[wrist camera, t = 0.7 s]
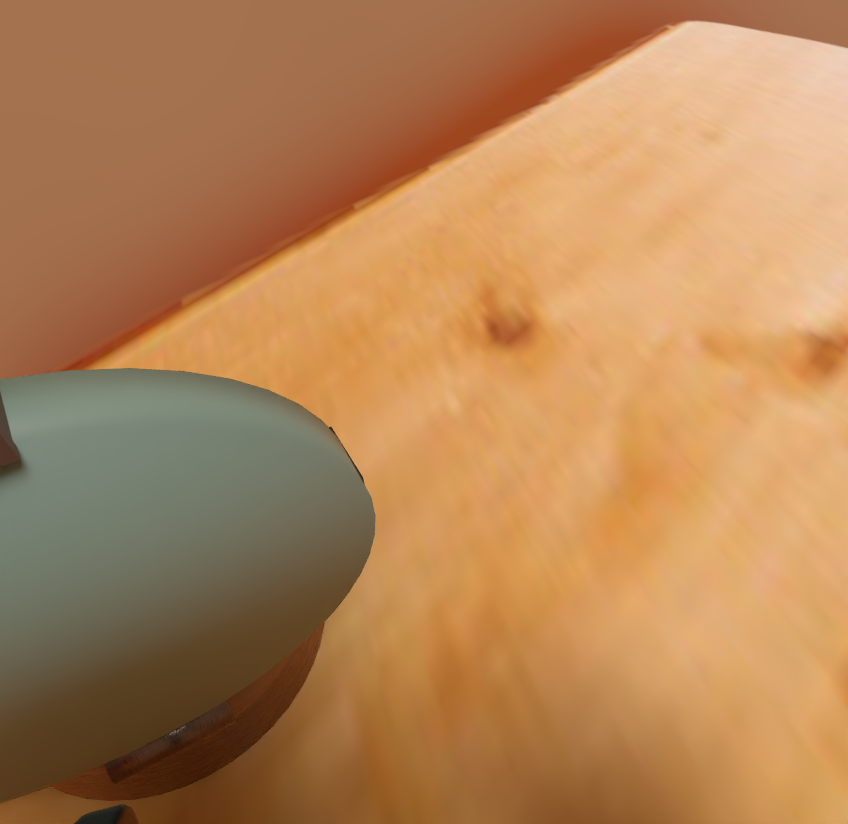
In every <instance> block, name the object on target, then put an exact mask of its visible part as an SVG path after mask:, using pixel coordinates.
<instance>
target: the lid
mask: <svg viewBox="0 0 848 824" xmlns="http://www.w3.org/2000/svg"><path fill="white" fill-rule="evenodd" d="M374 535H375V512H374V507H373V503H372V498H371V496H370V494H369V492H368V491H367V489H366V487H365V485H364V483H363V481H362V480H361V478H360V476H359V474H358V472H357V471H356V469H355V467H354V465H353V464H352V462H351V460H350V458H349V456H348V455H347V453H346V451H345V449H344V448H343V446H342V444H341V442H340V440H339V439H338V437H337V436H336V435H335V434H334V433H333V432H332V431H331V430H330V429H329V428H328V426H327V425H326V424H325V423H324V422H323V421H322V420H321V419H319V418H318V417H316V416H315V415H314V414H312V413H311V412H309V411H308V410H307V409H305V408H304V407H302V406H301V405H299V404H298V403H295V402H293V401H291V400H289V399H287V398H285V397H283V396H280V395H278V394H276V393H274V392H272V391H270V390H267V389H263V388H260V387H257V386H253V385H250V384H246V383H243V382H240V381H236V380H233V379H229V378H222V377H216V376H210V375H204V374H198V373H192V372H185V371H170V370H152V369H133V368H123V369H98V370H73V371H61V372H53V373H45V374H37V375H29V376H21V377H13V378H6V379H0V803H1V802H5V801H8V800H11V799H14V798H17V797H20V796H23V795H26V794H28V793H31V792H34V791H37V790H40V789H42V788H45V787H48V786H51V785H53V784H56V783H59V782H61V781H64V780H66V779H69V778H71V777H74V776H76V775H79V774H81V773H84V772H86V771H89V770H91V769H94V768H96V767H98V766H100V765H103V764H105V763H107V762H109V761H112V760H114V759H116V758H118V757H121V756H123V755H125V754H127V753H130V752H132V751H134V750H136V749H138V748H140V747H142V746H144V745H146V744H148V743H150V742H152V741H154V740H156V739H158V738H160V737H162V736H164V735H166V734H168V733H170V732H172V731H173V730H175V729H177V728H179V727H181V726H183V725H185V724H186V723H188V722H190V721H192V720H194V719H195V718H197V717H199V716H200V715H202V714H204V713H206V712H207V711H209V710H211V709H212V708H214V707H216V706H217V705H219V704H221V703H222V702H224V701H225V700H227V699H228V698H230V697H232V696H233V695H235V694H236V693H238V692H239V691H241V690H242V689H244V688H245V687H247V686H248V685H250V684H251V683H252V682H254V681H255V680H257V679H258V678H259V677H261V676H262V675H264V674H265V673H266V672H268V671H269V670H270V669H272V668H273V667H274V666H276V665H277V664H278V663H279V662H281V661H282V660H283V659H284V658H286V657H287V656H288V655H289V654H290V653H292V652H293V651H294V650H295V649H297V648H298V647H299V646H300V645H301V644H302V643H303V642H304V641H305V640H306V639H307V638H308V637H310V636H311V635H312V634H313V633H314V632H315V631H316V630H317V629H318V628H319V627H320V626H321V625H322V624H323V623H324V622H325V620H326V619H327V618H328V617H329V616H330V615H331V614H332V613H333V612H334V611H335V609H336V608H337V607H338V606H339V604H340V603H341V602H342V601H343V599H344V598H345V597H346V596H347V594H348V593H349V592H350V590H351V588H352V587H353V585H354V584H355V582H356V580H357V579H358V577H359V576H360V574H361V572H362V570H363V568H364V565H365V563H366V561H367V559H368V557H369V554H370V551H371V547H372V543H373V539H374Z"/></svg>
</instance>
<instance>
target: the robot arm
mask: <svg viewBox="0 0 848 824" xmlns="http://www.w3.org/2000/svg"><path fill="white" fill-rule="evenodd" d="M75 824H139V823H138V820H137V817H136V815H135V813H134V811H133V810H132V809H131V807H129V806H126V805H118V806H114V807H110V808H107V809H103V810H99V811H95V812H91V813H88V814H86V815H84V816H82V817H81V818H80V819H79V820H78V821H77V822H76V823H75Z"/></svg>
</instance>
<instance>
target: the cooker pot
mask: <svg viewBox="0 0 848 824" xmlns="http://www.w3.org/2000/svg"><path fill="white" fill-rule="evenodd" d="M329 429H330V430H331V431H332V432H333V433H334V434H335V432H334V431H333V429H332V427H329ZM335 435H336V434H335ZM336 436H337V435H336ZM338 439H339V438H338ZM341 444H342V443H341ZM342 446H343V445H342ZM343 448H344V446H343ZM344 449H345V448H344ZM345 451H346V450H345ZM346 453H347V451H346ZM347 455H348V456H349V454H348V453H347ZM349 458H350V456H349ZM350 460H351V462H352V464H353V465H354V467H355V469H356V471H357V472H358V474H359V476H360V478H361V480H362V481H363V483H364V480H363V477H362V475H361V474H360V472H359V470H358V469H357V467H356V466H355V464H354V462H353V461H352V459H351V458H350ZM323 628H324V623H323V624H322V625H321V626H320V627H319V628H318V629H317V630H316V631H315V632H314V633H313V634H312V635H311V636H310V637H308V638H307V639H306V640H305V641H304V642H303V643H302V644H301V645H300V646H299V647H298V648H297V649H295V650H294V651H293V652H292V653H290V654H289V655H288V656H287V657H286V658H284V659H283V660H282V661H281V662H279V663H278V664H277V665H276V666H274V667H273V668H272V669H270V670H269V671H268V672H266V673H265V674H264V675H262V676H261V677H259V678H258V679H257V680H255V681H254V682H252V683H251V684H250V685H248V686H247V687H245V688H244V689H242V690H241V691H239V692H238V693H236V694H235V695H233V696H232V697H230V698H228V699H227V700H225V701H224V702H222V703H221V704H219V705H217V706H216V707H214V708H212V709H211V710H209V711H207V712H206V713H204V714H202V715H200V716H199V717H197V718H195V719H194V720H192V721H190V722H188V723H186V724H185V725H183V726H181V727H179V728H177V729H175V730H173V731H172V732H170V733H168V734H166V735H164V736H162V737H160V738H158V739H156V740H154V741H152V742H150V743H148V744H146V745H144V746H142V747H140V748H138V749H136V750H134V751H132V752H130V753H127V754H125V755H123V756H121V757H118V758H116V759H114V760H112V761H109V762H107V763H105V764H103V765H100V766H98V767H96V768H94V769H91V770H89V771H86V772H84V773H81V774H79V775H76V776H74V777H71V778H69V779H66V780H64V781H61V782H59V783H56V784H53V785H51V787H53V788H55V789H57V790H60V791H62V792H64V793H67V794H71V795H75V796H79V797H82V798H86V799H96V800H107V801H115V800H133V799H140V798H145V797H150V796H155V795H160V794H163V793H166V792H169V791H172V790H175V789H178V788H181V787H184V786H187V785H189V784H191V783H193V782H195V781H198V780H200V779H202V778H204V777H206V776H208V775H210V774H212V773H214V772H215V771H217V770H218V769H220V768H222V767H223V766H225V765H227V764H228V763H230V762H232V761H233V760H234V759H236V758H237V757H238V756H240V755H241V754H242V753H243V752H245V751H246V750H247V749H249V748H250V747H251V746H252V745H254V744H255V743H256V742H257V741H258V740H259V739H260V738H261V737H262V736H263V735H264V734H265V733H266V732H267V731H268V730H269V729H270V728H271V727H272V726H273V725H274V724H275V723H276V722H277V720H278V719H279V718H280V717H281V716H282V714H283V713H284V712H285V711H286V710H287V708H288V707H289V706H290V704H291V703H292V701H293V700H294V698H295V697H296V695H297V694H298V692H299V691H300V689H301V687H302V686H303V684H304V682H305V680H306V678H307V676H308V674H309V672H310V670H311V668H312V666H313V663H314V660H315V657H316V655H317V652H318V649H319V646H320V642H321V637H322V633H323Z"/></svg>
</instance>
